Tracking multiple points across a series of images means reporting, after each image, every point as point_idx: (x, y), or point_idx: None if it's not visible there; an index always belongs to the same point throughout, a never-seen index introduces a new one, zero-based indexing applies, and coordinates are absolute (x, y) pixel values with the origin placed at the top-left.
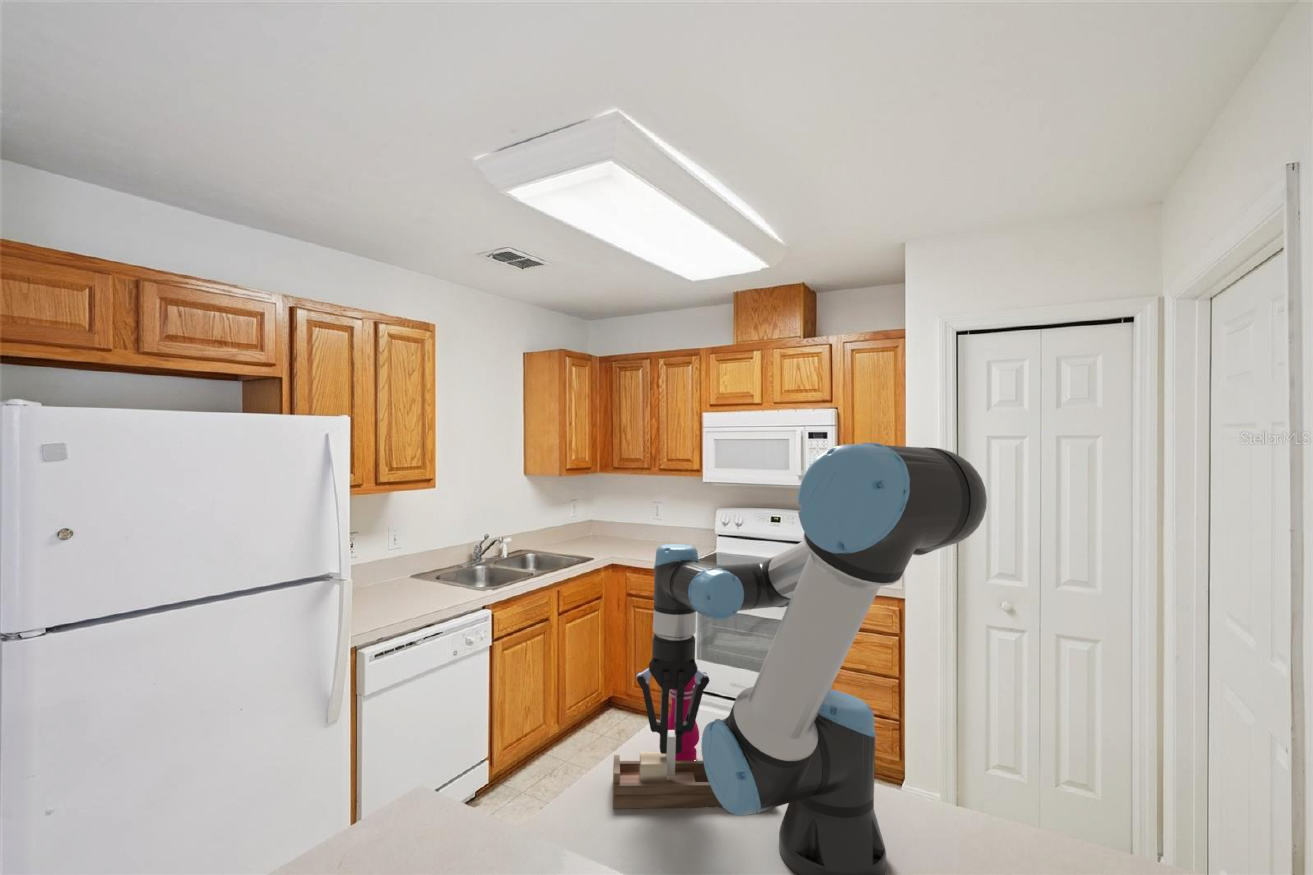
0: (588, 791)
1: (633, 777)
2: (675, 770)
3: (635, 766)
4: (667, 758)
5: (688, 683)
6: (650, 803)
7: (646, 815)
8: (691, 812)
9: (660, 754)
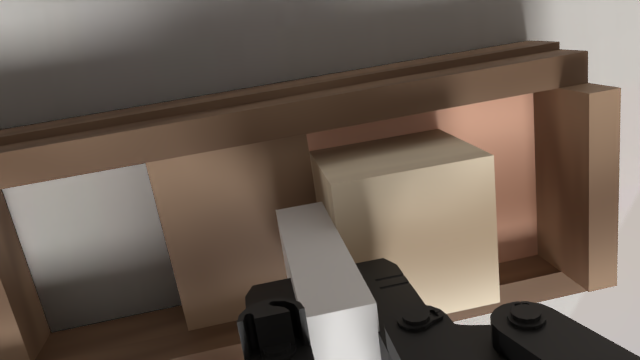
0: (626, 157)
1: None
2: None
3: None
4: (335, 236)
5: None
6: (374, 69)
7: (382, 5)
8: (174, 60)
9: None
